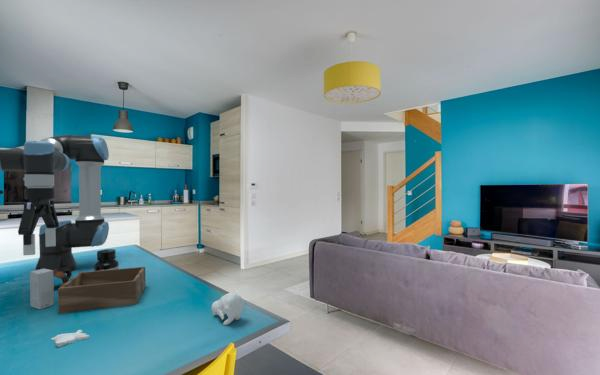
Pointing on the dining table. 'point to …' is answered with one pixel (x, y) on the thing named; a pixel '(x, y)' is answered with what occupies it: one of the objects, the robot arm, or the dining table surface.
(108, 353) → the dining table surface
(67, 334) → the acanthus leaf ornament
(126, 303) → the peg box
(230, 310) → the white animal figurine
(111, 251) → the ink bottle
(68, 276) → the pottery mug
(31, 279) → the skincare box
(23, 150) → the robot arm
